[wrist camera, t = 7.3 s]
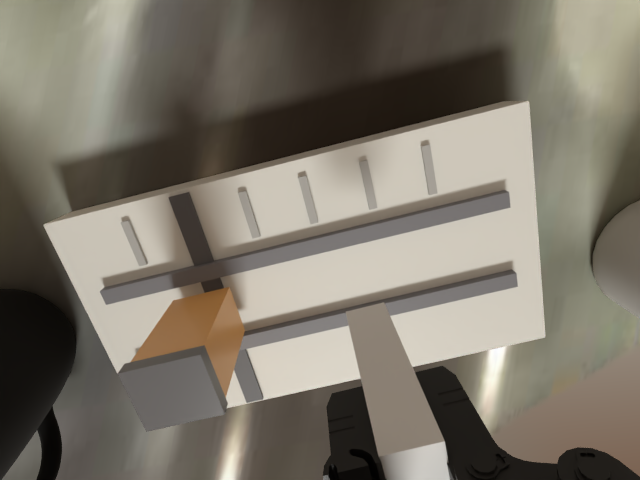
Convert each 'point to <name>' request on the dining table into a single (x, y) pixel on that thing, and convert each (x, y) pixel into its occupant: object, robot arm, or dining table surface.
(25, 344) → the mug
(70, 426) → the dining table surface
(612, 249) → the cup
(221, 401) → the fader cap
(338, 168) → the console
